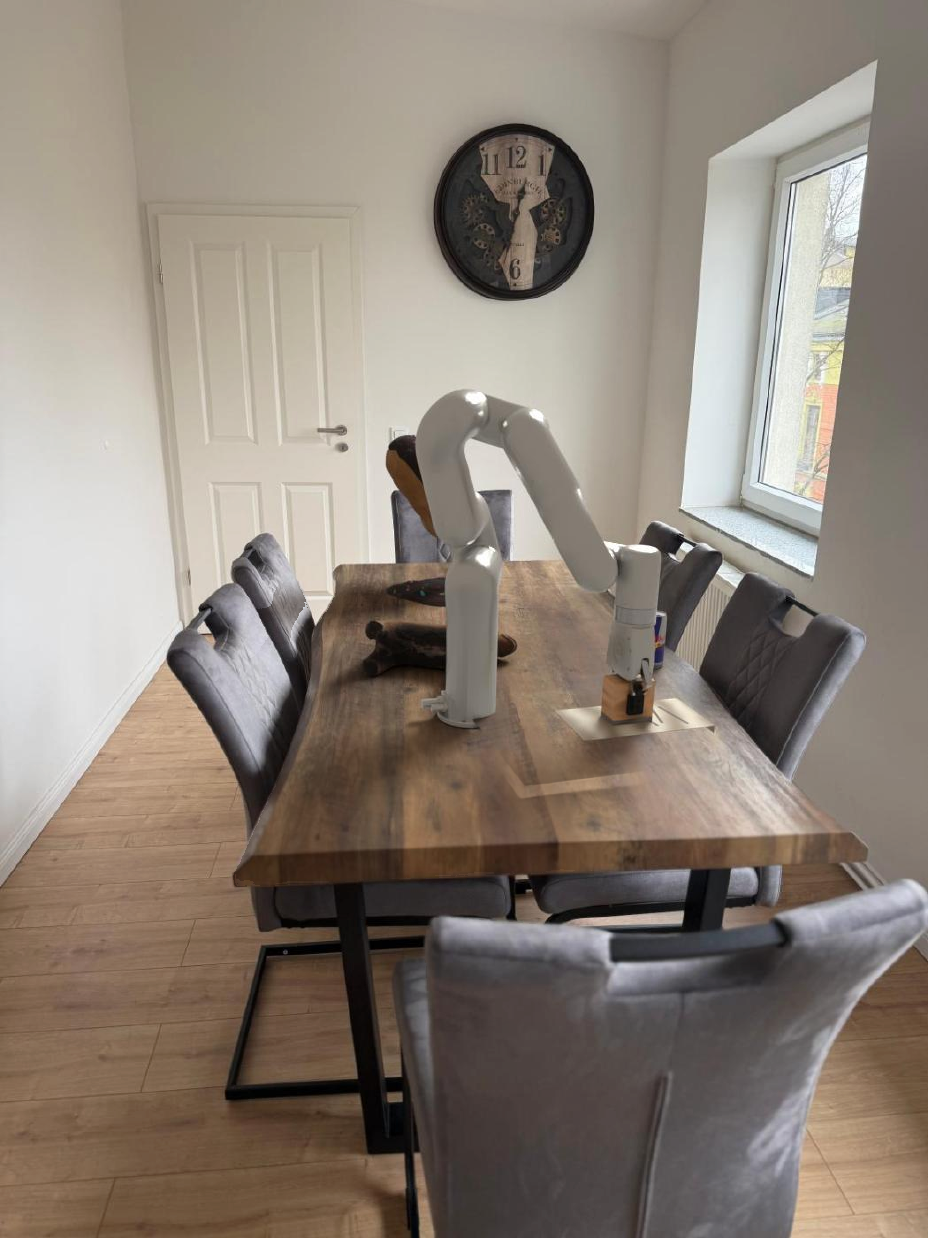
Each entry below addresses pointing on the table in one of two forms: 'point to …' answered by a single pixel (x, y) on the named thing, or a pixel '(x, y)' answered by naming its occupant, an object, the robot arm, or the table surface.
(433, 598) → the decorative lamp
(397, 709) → the table surface
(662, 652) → the energy drink
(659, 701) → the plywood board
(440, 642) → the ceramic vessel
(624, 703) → the block
